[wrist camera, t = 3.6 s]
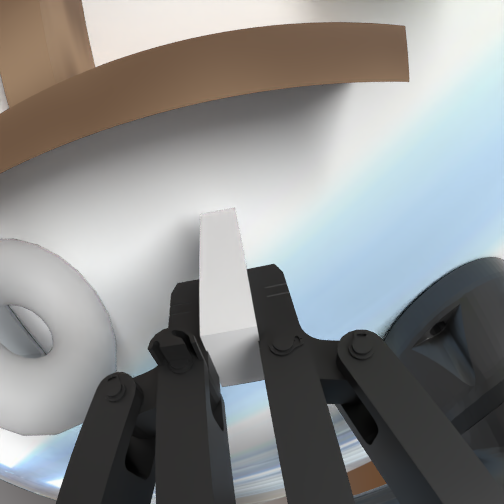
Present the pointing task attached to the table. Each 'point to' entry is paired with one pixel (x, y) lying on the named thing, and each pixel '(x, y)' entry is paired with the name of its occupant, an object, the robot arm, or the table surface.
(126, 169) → the table surface
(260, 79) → the t rack
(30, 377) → the donut
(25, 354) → the tray
